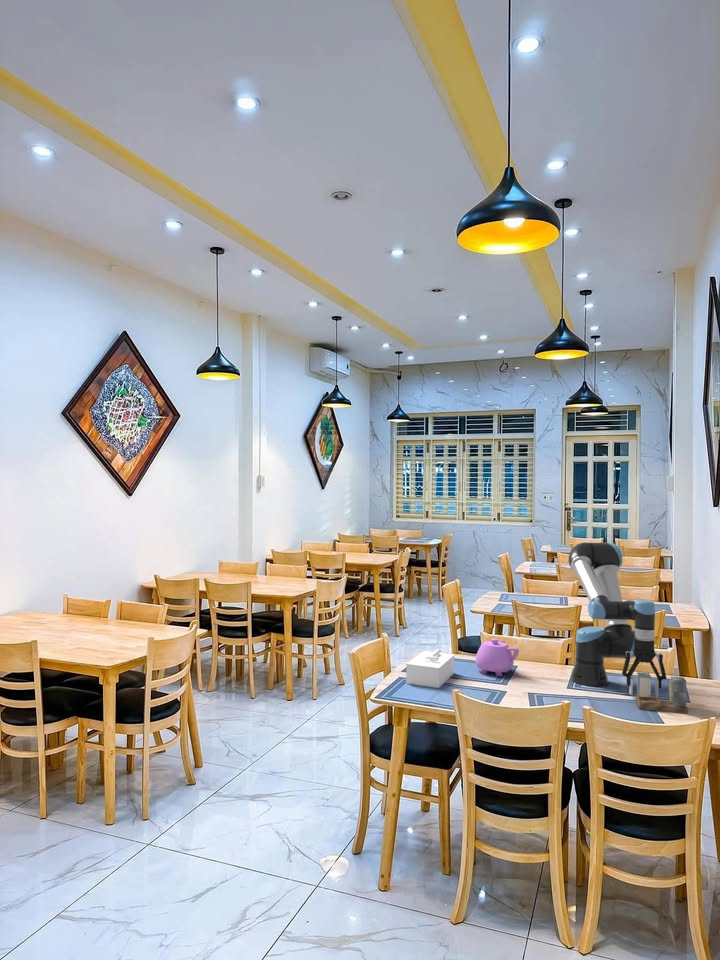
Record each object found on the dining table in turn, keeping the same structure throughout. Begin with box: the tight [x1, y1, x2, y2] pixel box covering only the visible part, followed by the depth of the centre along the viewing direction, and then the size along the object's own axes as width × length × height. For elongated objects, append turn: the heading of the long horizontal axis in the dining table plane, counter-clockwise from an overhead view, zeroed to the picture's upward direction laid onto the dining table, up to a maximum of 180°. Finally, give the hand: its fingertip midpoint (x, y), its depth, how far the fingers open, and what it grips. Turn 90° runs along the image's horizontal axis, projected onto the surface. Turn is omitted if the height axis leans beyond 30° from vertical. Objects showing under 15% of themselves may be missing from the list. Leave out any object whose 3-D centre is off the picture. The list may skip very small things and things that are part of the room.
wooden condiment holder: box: [635, 676, 689, 714], centre depth 251 cm, size 17×7×12 cm, turn 76°
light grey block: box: [636, 671, 652, 697], centre depth 262 cm, size 5×4×10 cm
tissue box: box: [405, 649, 455, 689], centre depth 286 cm, size 14×25×11 cm, turn 157°
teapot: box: [475, 638, 520, 677], centre depth 299 cm, size 20×20×15 cm
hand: (643, 694), depth 262 cm, fingers open, 9 cm apart
